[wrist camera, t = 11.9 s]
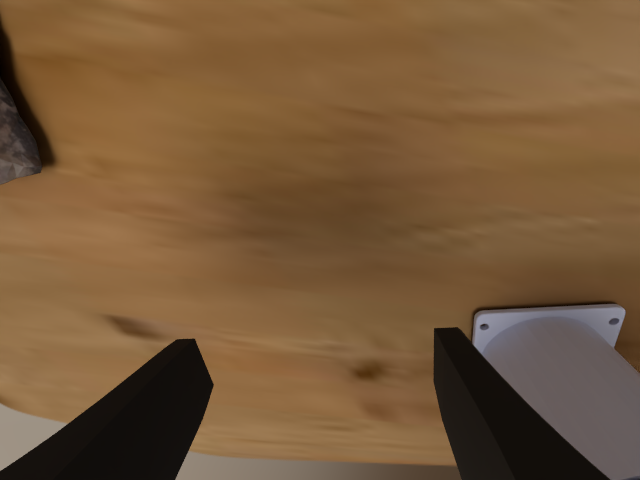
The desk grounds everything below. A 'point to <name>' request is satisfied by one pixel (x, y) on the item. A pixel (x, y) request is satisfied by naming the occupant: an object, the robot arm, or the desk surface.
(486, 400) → the robot arm
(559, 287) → the desk surface
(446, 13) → the desk surface
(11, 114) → the geode
